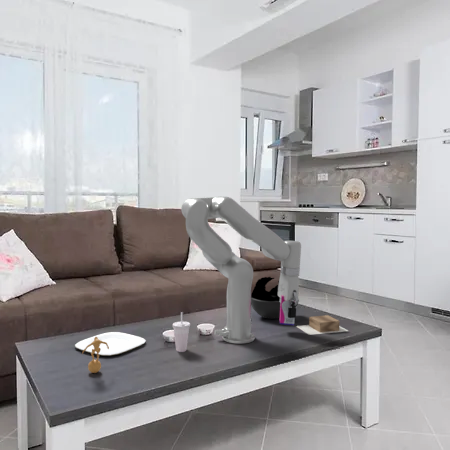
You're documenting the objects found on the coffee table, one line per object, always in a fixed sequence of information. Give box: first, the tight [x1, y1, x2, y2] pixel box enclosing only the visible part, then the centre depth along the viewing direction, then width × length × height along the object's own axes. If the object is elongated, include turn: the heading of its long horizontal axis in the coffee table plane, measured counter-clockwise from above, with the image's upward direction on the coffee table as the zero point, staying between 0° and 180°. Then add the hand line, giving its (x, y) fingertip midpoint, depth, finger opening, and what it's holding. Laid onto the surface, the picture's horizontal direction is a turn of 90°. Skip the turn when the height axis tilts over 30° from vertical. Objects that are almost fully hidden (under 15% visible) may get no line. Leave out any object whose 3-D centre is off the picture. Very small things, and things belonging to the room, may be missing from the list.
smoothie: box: [172, 311, 191, 353], centre depth 159 cm, size 6×6×14 cm
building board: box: [295, 324, 349, 336], centre depth 184 cm, size 18×12×1 cm, turn 108°
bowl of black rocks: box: [251, 276, 280, 320], centre depth 201 cm, size 20×20×19 cm
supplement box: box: [279, 295, 296, 326], centre depth 178 cm, size 6×6×12 cm
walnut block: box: [308, 314, 341, 332], centre depth 184 cm, size 9×9×4 cm
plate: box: [74, 331, 147, 357], centre depth 163 cm, size 22×22×2 cm
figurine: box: [82, 337, 109, 374], centre depth 137 cm, size 8×6×12 cm
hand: (287, 314), depth 178 cm, fingers closed on supplement box, 7 cm apart
